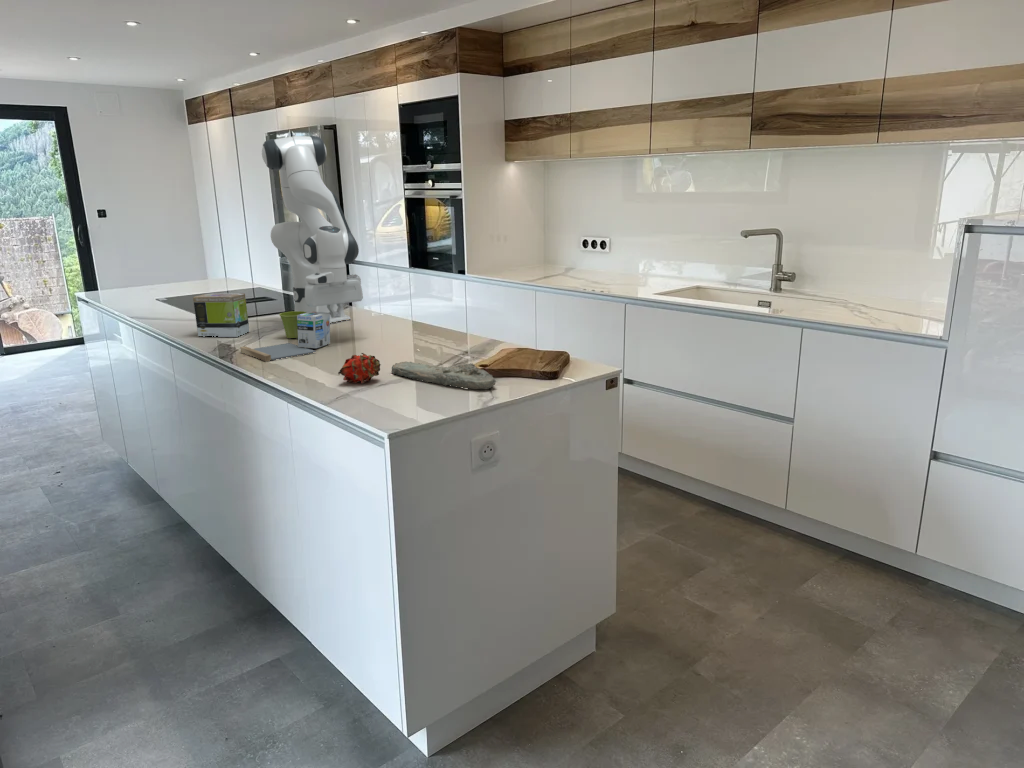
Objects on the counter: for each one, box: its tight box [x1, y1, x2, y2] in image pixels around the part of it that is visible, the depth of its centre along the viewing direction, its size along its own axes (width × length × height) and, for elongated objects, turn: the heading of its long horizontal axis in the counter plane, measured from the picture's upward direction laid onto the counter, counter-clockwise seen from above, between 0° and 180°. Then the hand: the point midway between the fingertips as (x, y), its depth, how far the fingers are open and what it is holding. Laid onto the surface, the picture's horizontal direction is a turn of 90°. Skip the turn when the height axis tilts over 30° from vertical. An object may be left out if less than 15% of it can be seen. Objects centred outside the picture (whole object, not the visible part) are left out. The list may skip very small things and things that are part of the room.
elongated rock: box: [391, 361, 497, 390], centre depth 189 cm, size 35×5×10 cm
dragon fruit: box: [337, 352, 382, 385], centre depth 188 cm, size 8×8×12 cm
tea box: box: [192, 292, 250, 338], centre depth 250 cm, size 15×10×15 cm, turn 84°
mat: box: [253, 342, 317, 361], centre depth 224 cm, size 15×18×1 cm
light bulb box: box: [297, 312, 331, 349], centre depth 231 cm, size 11×7×11 cm, turn 168°
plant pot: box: [278, 310, 307, 339], centre depth 246 cm, size 9×9×9 cm
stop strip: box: [240, 346, 271, 362], centre depth 218 cm, size 2×18×2 cm, turn 45°
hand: (336, 317), depth 236 cm, fingers closed
